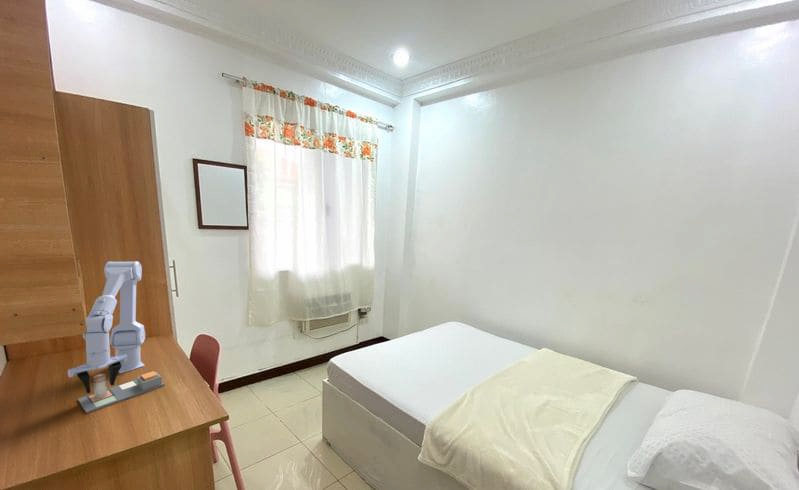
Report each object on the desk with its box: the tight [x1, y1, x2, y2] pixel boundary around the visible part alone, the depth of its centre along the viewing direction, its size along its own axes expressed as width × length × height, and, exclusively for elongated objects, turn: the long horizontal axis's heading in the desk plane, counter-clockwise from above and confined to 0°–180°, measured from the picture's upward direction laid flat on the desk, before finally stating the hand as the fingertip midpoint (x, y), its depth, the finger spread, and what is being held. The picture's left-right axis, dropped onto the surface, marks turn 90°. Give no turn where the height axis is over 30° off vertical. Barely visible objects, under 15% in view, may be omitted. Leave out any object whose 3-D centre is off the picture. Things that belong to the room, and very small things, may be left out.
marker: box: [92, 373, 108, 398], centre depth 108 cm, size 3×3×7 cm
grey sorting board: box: [77, 371, 165, 414], centre depth 112 cm, size 11×21×4 cm, turn 145°
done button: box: [140, 370, 157, 381], centre depth 116 cm, size 4×4×2 cm
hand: (100, 388), depth 108 cm, fingers open, 5 cm apart
